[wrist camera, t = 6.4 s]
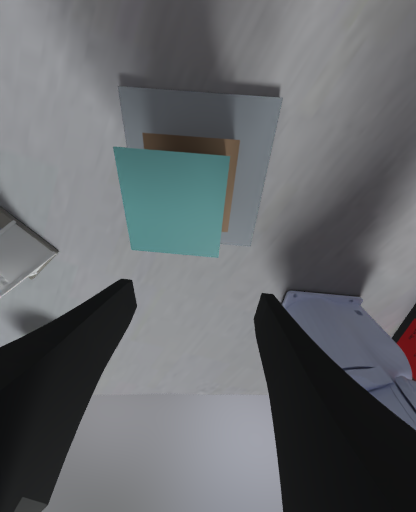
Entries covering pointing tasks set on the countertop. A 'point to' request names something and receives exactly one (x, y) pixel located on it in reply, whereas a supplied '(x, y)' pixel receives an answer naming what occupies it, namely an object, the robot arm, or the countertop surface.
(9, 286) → the skyscraper
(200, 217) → the teal cube
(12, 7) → the countertop surface
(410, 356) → the cleaning product box
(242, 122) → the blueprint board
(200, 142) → the walnut block
